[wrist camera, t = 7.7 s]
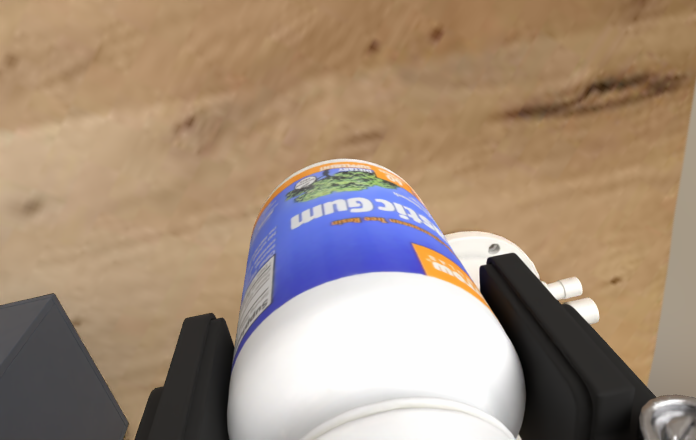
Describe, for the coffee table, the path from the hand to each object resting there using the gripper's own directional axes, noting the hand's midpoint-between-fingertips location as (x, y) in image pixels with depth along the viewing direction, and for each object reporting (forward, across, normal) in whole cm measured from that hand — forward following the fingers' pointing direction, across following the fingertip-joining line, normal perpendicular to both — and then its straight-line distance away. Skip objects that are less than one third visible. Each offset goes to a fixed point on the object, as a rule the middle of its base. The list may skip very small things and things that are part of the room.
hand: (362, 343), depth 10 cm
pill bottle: (+5, 0, 0) cm, 5 cm away
